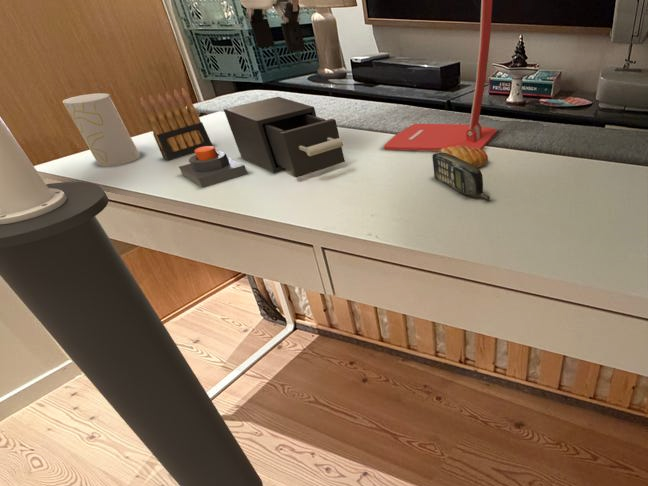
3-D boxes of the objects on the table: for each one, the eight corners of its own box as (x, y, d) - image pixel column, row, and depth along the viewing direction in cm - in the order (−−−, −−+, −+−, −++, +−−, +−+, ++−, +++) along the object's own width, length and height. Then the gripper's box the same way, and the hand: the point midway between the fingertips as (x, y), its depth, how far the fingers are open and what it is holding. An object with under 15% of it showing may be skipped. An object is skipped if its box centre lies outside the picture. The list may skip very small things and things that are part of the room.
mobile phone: (428, 152, 83) (477, 173, 73) (442, 148, 84) (492, 168, 74) (431, 180, 86) (479, 203, 76) (445, 176, 87) (493, 198, 78)
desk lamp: (373, 123, 115) (333, -103, 88) (523, 131, 106) (530, -119, 79) (336, 146, 102) (277, -110, 75) (502, 158, 93) (502, -129, 66)
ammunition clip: (208, 144, 106) (184, 86, 98) (212, 146, 106) (188, 86, 98) (163, 158, 100) (133, 97, 92) (168, 160, 99) (138, 98, 91)
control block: (202, 187, 87) (194, 168, 84) (182, 175, 92) (174, 157, 90) (247, 173, 91) (241, 155, 89) (226, 162, 97) (219, 145, 94)
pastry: (480, 157, 94) (479, 137, 91) (493, 167, 89) (493, 147, 87) (437, 164, 91) (435, 144, 89) (448, 176, 87) (447, 155, 84)
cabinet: (326, 157, 97) (314, 106, 91) (274, 173, 91) (256, 120, 84) (292, 143, 105) (278, 96, 99) (241, 158, 99) (223, 108, 92)
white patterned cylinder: (89, 164, 99) (52, 102, 91) (120, 152, 105) (88, 92, 97) (118, 167, 97) (83, 104, 89) (148, 154, 103) (118, 93, 95)
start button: (202, 162, 88) (198, 153, 87) (195, 158, 90) (191, 149, 88) (221, 157, 90) (217, 148, 88) (213, 153, 92) (209, 144, 90)
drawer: (357, 166, 90) (348, 123, 84) (308, 183, 84) (295, 138, 79) (310, 148, 99) (299, 108, 94) (262, 162, 93) (248, 120, 88)
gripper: (194, -81, 73) (237, 48, 84) (252, -89, 64) (290, 56, 76) (238, -81, 77) (273, 42, 88) (298, -89, 68) (327, 49, 80)
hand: (281, 48), depth 82 cm, fingers open, 9 cm apart
